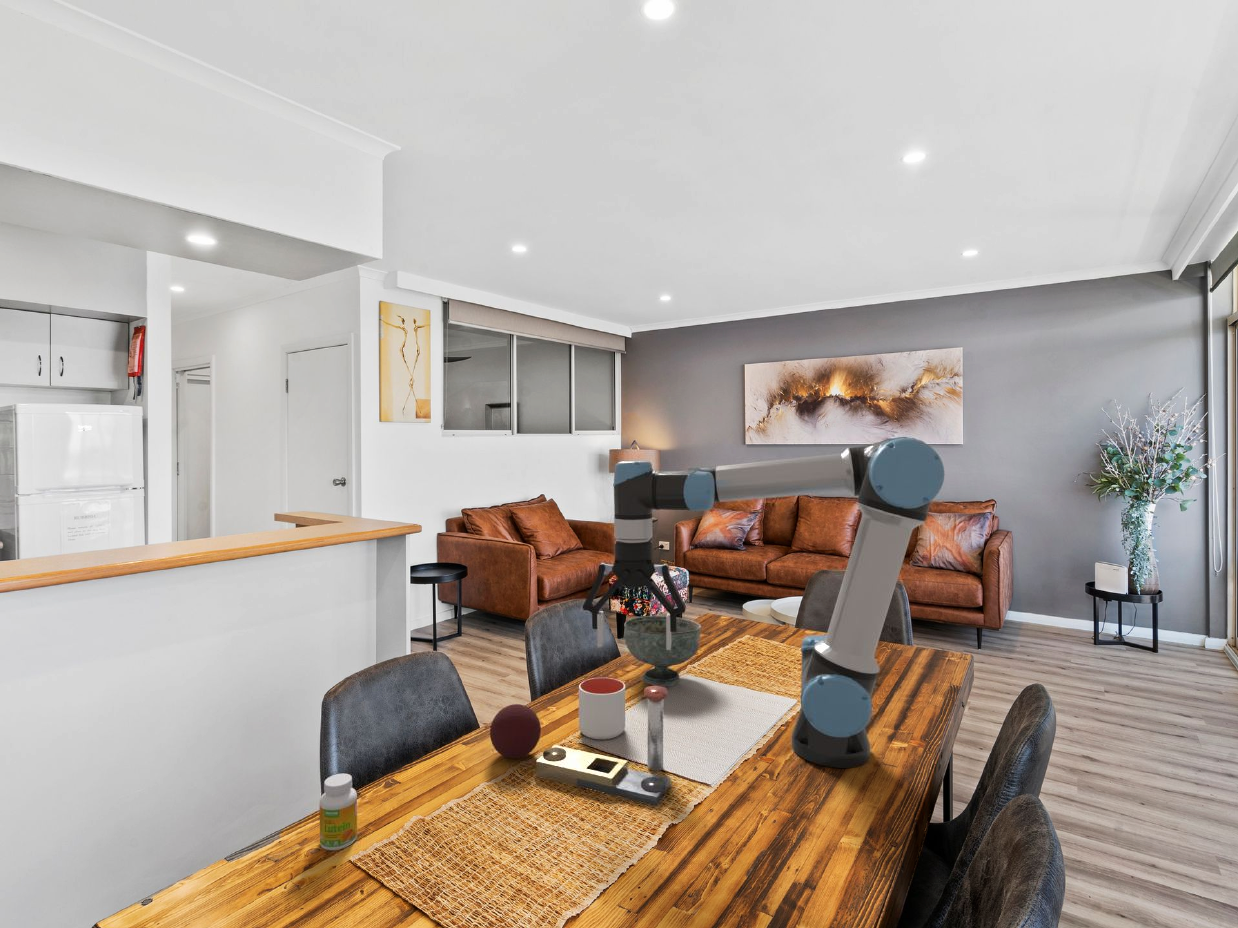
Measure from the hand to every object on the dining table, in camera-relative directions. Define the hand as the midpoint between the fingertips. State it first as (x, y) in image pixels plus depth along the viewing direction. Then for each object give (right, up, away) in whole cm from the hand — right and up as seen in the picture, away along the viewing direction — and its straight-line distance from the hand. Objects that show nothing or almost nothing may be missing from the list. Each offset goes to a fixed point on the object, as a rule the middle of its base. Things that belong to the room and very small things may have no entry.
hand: (634, 646), depth 130 cm
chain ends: (-6, -22, -9) cm, 25 cm away
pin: (+4, -22, -4) cm, 23 cm away
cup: (-7, -22, +12) cm, 26 cm away
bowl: (+8, -21, +44) cm, 49 cm away
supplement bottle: (-47, -23, -27) cm, 59 cm away
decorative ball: (-24, -22, +1) cm, 32 cm away
